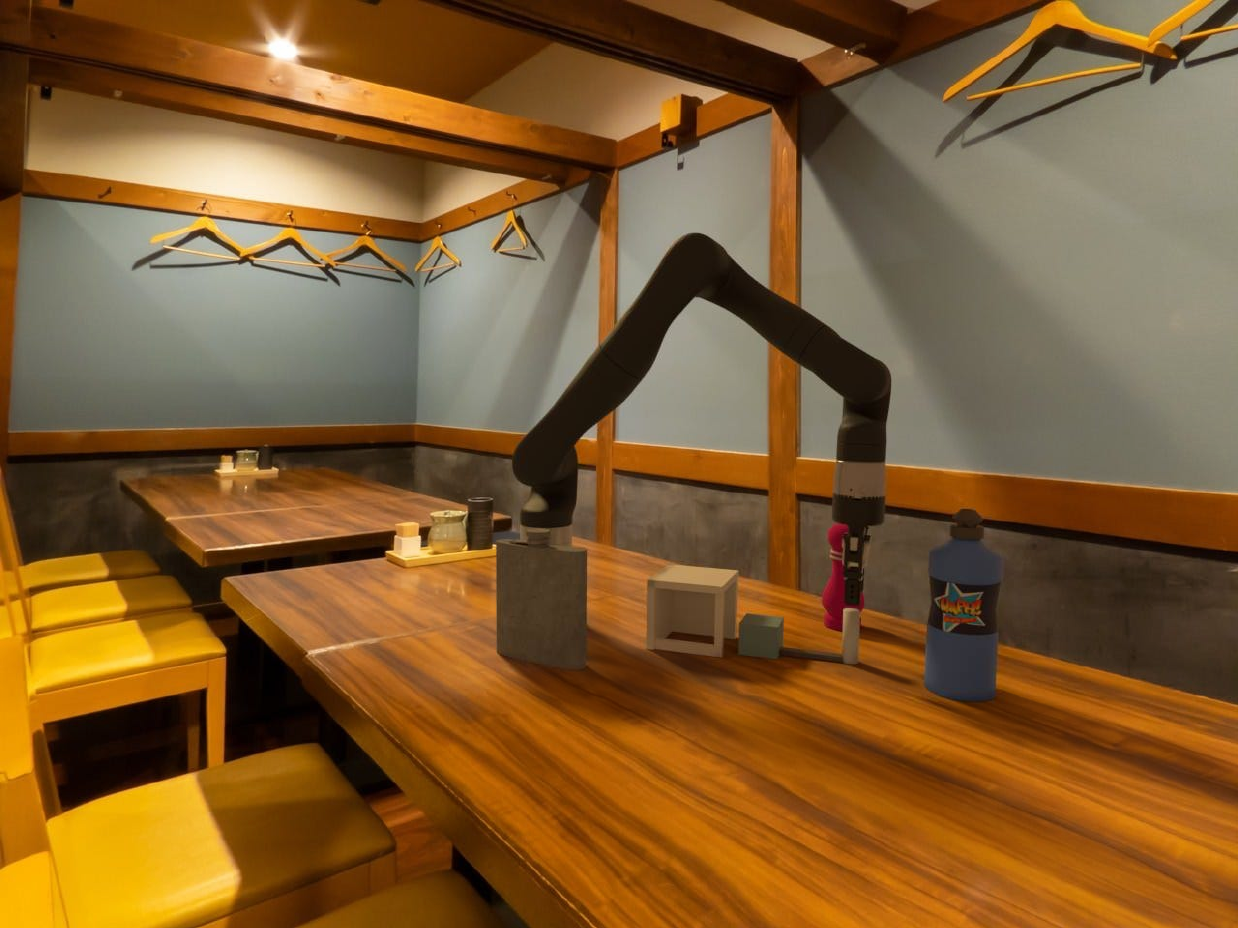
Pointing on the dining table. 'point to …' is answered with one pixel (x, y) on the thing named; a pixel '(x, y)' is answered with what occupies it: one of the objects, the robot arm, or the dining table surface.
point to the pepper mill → (837, 582)
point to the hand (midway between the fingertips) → (853, 597)
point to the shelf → (691, 608)
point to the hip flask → (541, 601)
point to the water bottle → (963, 613)
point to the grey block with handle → (767, 642)
